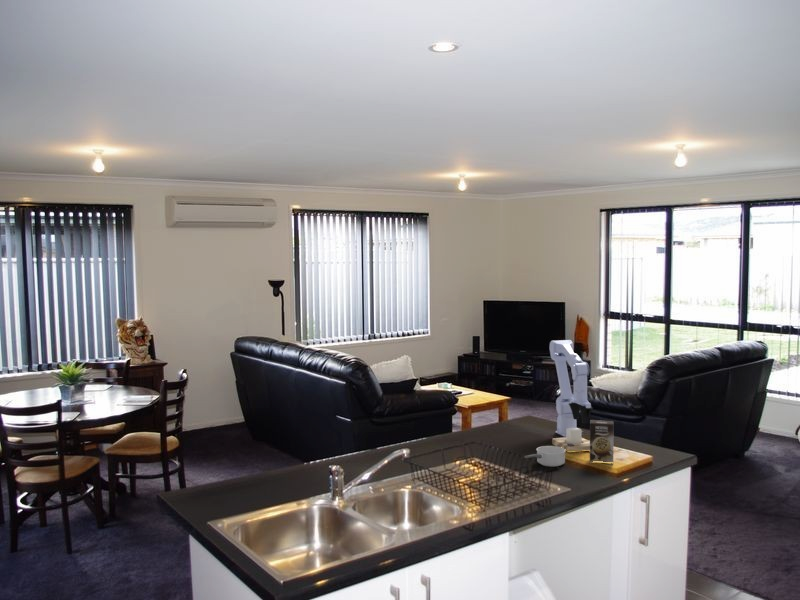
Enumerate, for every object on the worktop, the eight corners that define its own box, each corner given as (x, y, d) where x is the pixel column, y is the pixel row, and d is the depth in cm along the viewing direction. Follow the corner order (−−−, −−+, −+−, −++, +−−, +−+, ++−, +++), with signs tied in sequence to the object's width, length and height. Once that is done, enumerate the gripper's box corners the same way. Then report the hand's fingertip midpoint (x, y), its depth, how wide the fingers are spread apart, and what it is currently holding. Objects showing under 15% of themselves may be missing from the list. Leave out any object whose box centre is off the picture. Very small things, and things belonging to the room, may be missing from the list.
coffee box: (589, 463, 265) (589, 422, 264) (589, 458, 271) (589, 419, 271) (613, 464, 263) (613, 424, 262) (613, 460, 269) (613, 420, 268)
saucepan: (514, 467, 263) (514, 453, 263) (550, 457, 274) (550, 444, 274) (536, 474, 254) (536, 459, 253) (572, 464, 265) (572, 450, 265)
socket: (552, 444, 294) (552, 437, 294) (579, 441, 297) (579, 434, 297) (569, 453, 280) (568, 446, 279) (597, 450, 283) (597, 443, 282)
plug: (566, 446, 290) (566, 428, 289) (581, 445, 291) (581, 427, 291) (571, 449, 286) (570, 430, 285) (585, 447, 288) (585, 429, 287)
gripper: (564, 387, 299) (564, 418, 300) (580, 393, 285) (580, 425, 286) (578, 386, 301) (578, 416, 302) (595, 392, 287) (595, 424, 288)
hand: (580, 421), depth 294 cm, fingers open, 7 cm apart
